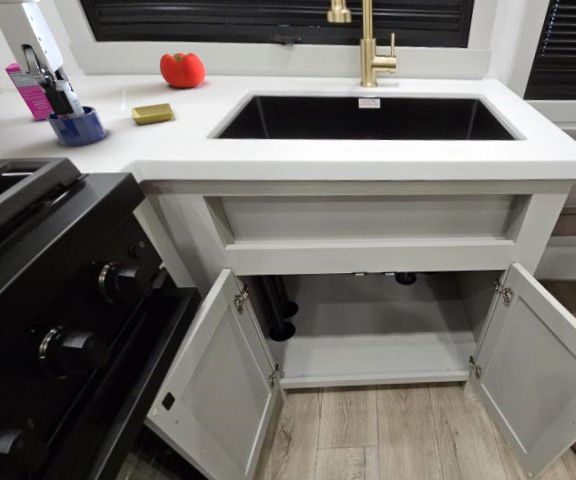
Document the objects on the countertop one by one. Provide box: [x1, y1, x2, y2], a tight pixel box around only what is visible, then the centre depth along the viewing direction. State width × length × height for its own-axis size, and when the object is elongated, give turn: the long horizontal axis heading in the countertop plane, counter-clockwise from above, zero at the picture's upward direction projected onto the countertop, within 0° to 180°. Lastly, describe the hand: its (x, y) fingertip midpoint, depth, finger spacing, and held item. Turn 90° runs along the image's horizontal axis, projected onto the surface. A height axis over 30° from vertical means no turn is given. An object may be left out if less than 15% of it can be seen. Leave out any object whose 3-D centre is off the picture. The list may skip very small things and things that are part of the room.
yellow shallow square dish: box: [131, 102, 174, 125], centre depth 77 cm, size 9×9×2 cm
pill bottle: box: [52, 80, 85, 119], centre depth 65 cm, size 5×5×8 cm
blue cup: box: [46, 105, 107, 147], centre depth 67 cm, size 9×9×6 cm
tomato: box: [159, 52, 206, 89], centre depth 97 cm, size 13×12×8 cm
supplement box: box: [4, 62, 53, 122], centre depth 76 cm, size 6×6×12 cm
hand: (67, 108), depth 65 cm, fingers closed on pill bottle, 4 cm apart
